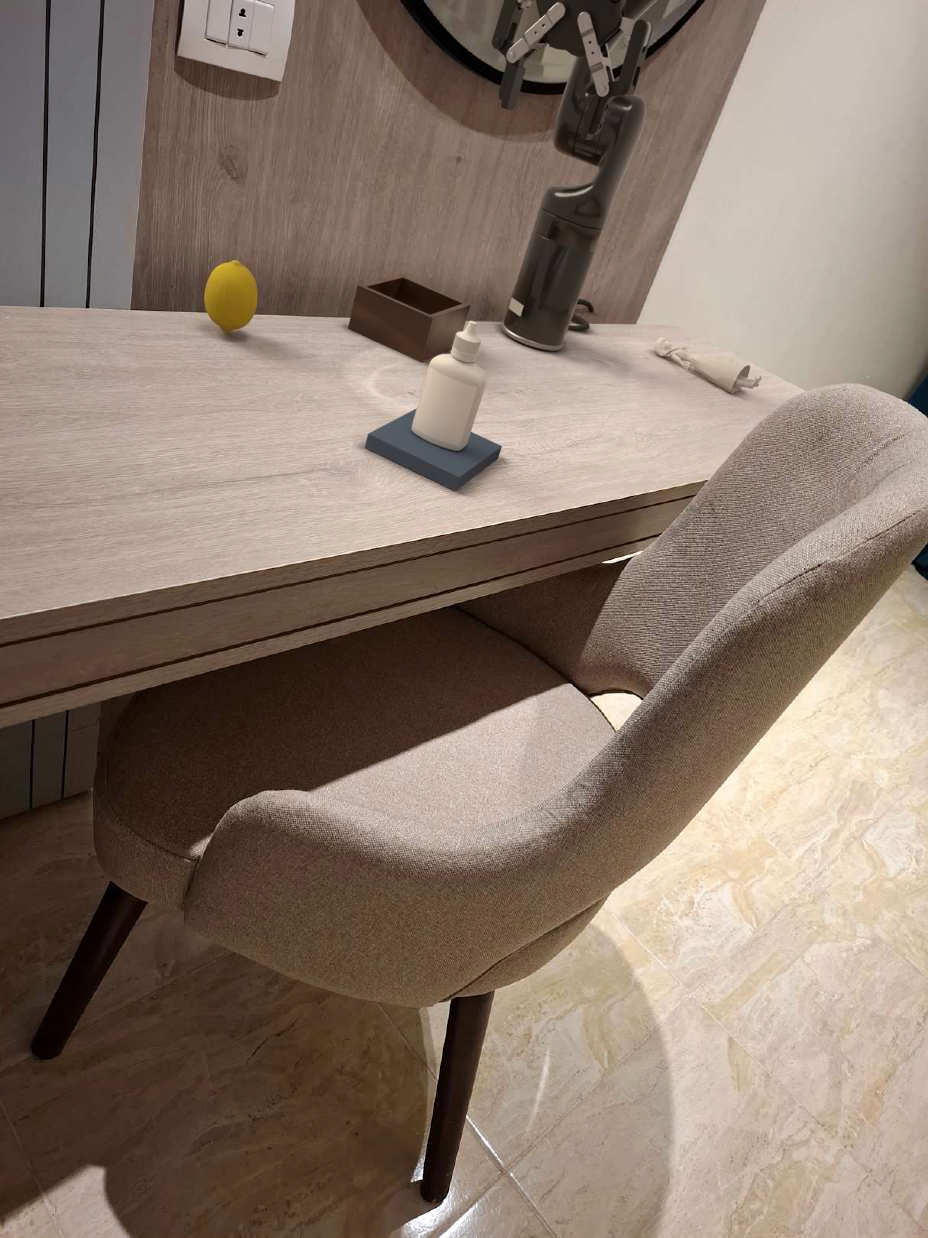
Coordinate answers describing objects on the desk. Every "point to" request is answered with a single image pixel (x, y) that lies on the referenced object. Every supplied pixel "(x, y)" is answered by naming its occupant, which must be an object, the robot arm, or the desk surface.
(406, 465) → the block
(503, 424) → the desk surface
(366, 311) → the box
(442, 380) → the eye dropper bottle
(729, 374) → the woman figurine
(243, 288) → the lemon
